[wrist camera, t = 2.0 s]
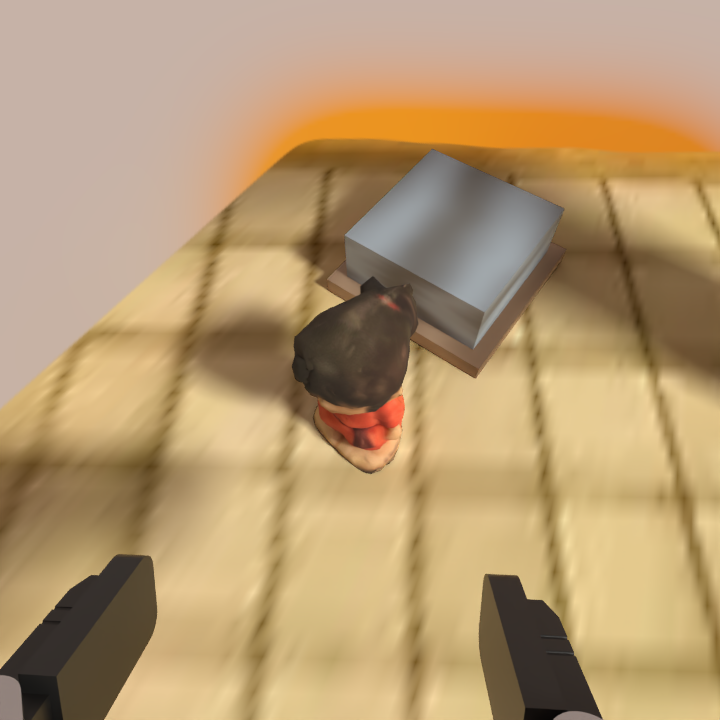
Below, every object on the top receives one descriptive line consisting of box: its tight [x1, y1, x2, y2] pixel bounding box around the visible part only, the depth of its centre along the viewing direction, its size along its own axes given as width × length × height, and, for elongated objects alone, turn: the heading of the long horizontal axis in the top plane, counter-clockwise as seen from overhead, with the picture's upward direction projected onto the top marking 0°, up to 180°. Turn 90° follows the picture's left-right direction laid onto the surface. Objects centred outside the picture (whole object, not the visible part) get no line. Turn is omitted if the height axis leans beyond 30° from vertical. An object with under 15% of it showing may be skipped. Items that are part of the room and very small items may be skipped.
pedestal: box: [327, 149, 566, 378], centre depth 35 cm, size 12×12×5 cm
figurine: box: [292, 276, 418, 474], centre depth 27 cm, size 6×6×12 cm
